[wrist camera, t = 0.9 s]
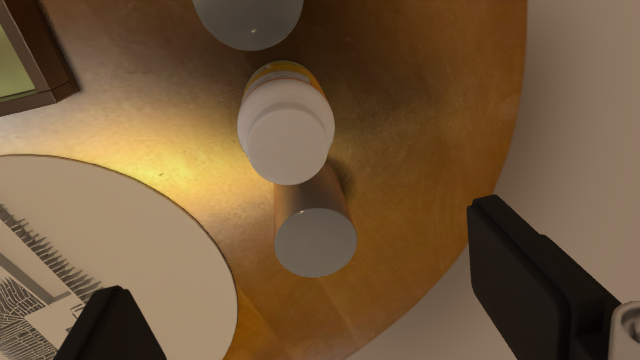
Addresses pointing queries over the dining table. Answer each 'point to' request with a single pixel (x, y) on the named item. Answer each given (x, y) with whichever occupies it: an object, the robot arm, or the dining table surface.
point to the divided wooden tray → (30, 60)
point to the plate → (104, 259)
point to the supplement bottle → (285, 123)
